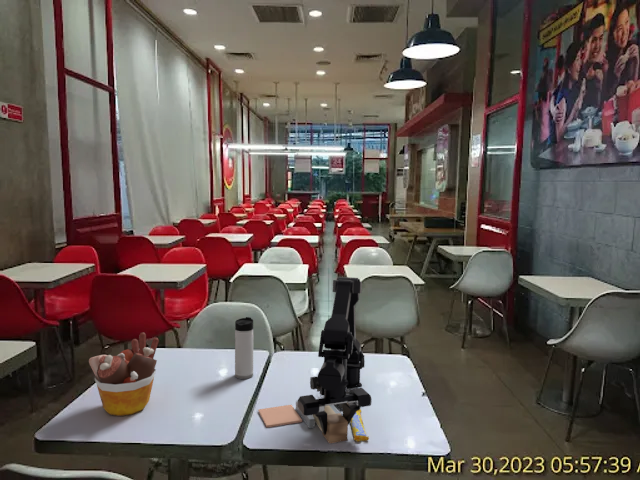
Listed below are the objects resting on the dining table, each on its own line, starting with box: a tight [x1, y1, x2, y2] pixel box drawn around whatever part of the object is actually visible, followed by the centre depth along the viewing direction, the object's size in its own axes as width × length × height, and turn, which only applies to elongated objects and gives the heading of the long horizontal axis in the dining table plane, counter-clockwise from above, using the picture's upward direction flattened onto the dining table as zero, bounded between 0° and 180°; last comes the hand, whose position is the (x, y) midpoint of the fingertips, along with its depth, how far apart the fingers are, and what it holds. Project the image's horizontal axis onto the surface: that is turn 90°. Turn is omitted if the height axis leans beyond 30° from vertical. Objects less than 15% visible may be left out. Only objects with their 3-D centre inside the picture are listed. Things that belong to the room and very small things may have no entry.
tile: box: [257, 404, 303, 428], centre depth 130 cm, size 10×10×1 cm
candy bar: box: [349, 408, 370, 442], centre depth 125 cm, size 17×4×2 cm, turn 3°
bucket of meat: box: [88, 332, 160, 417], centre depth 133 cm, size 20×16×20 cm
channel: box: [295, 396, 343, 429], centre depth 130 cm, size 10×12×2 cm
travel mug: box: [234, 316, 254, 380], centre depth 158 cm, size 6×7×20 cm
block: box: [321, 412, 349, 444], centre depth 119 cm, size 5×5×5 cm
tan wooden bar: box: [312, 405, 336, 432], centre depth 125 cm, size 4×9×4 cm, turn 20°
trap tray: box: [334, 390, 361, 411], centre depth 139 cm, size 7×7×2 cm
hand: (334, 432), depth 119 cm, fingers closed on block, 5 cm apart
